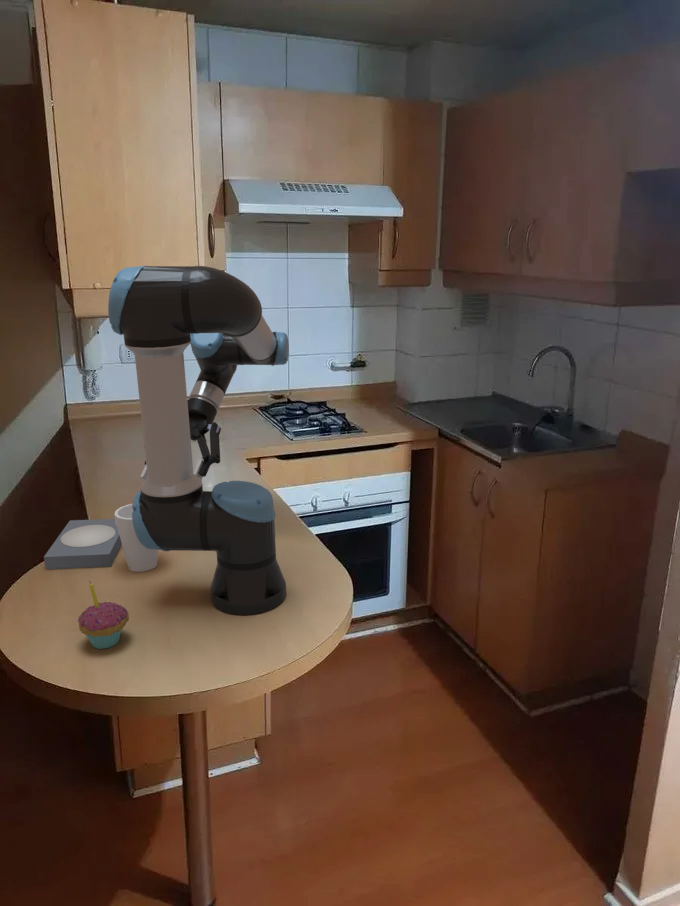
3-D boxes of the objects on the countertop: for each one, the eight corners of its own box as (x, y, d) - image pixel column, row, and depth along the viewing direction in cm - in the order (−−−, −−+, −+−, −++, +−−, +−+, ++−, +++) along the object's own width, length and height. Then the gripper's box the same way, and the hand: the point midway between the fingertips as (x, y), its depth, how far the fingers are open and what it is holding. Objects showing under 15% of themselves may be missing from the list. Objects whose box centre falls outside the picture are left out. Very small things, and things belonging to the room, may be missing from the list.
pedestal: (110, 566, 156) (109, 552, 155) (45, 569, 155) (43, 555, 154) (129, 529, 175) (127, 517, 174) (71, 531, 174) (69, 519, 173)
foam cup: (148, 552, 162) (142, 499, 158) (173, 563, 157) (168, 509, 153) (112, 566, 155) (105, 512, 151) (137, 579, 150) (131, 523, 146)
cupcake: (71, 649, 125) (62, 589, 122) (102, 625, 133) (94, 567, 129) (110, 659, 122) (103, 597, 119) (140, 633, 130) (134, 575, 126)
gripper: (253, 418, 167) (221, 498, 159) (169, 407, 177) (134, 482, 169) (240, 401, 161) (205, 484, 152) (153, 391, 171) (116, 468, 163)
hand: (168, 483), depth 161 cm, fingers open, 13 cm apart
